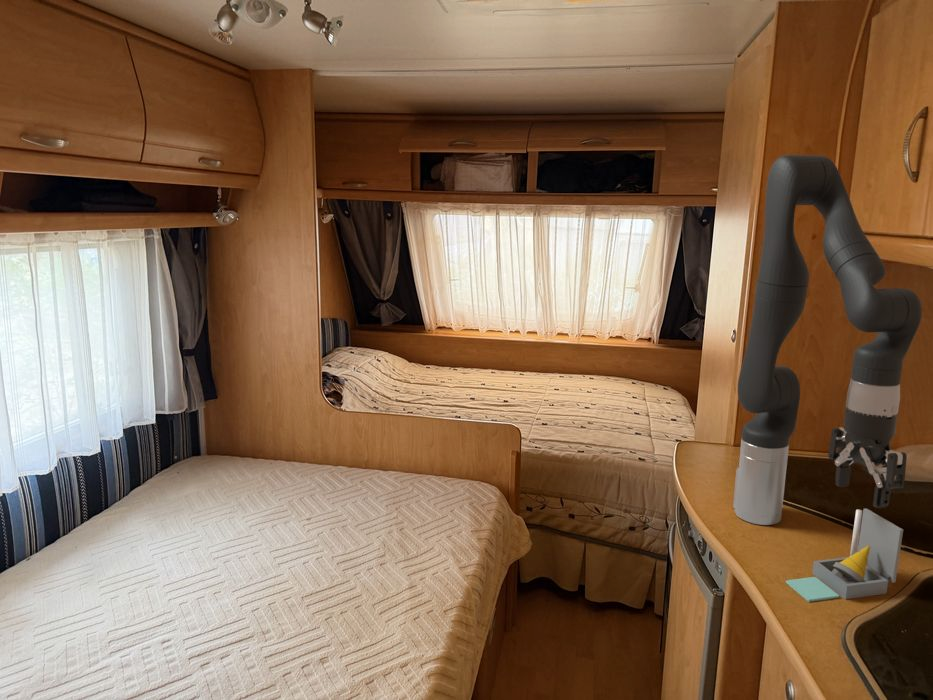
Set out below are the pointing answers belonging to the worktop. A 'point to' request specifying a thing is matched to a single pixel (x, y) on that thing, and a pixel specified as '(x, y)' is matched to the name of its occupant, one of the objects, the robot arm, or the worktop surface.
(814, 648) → the worktop surface
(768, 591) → the worktop surface
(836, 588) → the case
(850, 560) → the drill bit
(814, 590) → the mat
